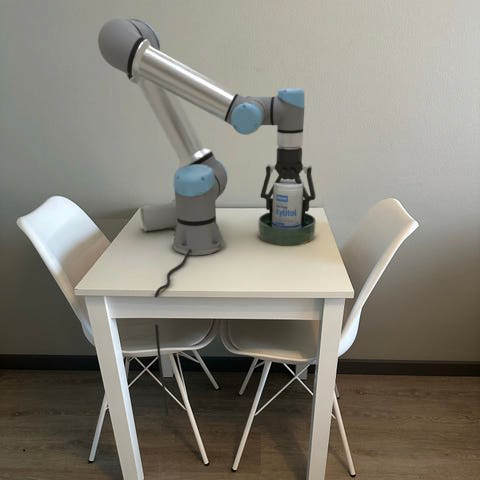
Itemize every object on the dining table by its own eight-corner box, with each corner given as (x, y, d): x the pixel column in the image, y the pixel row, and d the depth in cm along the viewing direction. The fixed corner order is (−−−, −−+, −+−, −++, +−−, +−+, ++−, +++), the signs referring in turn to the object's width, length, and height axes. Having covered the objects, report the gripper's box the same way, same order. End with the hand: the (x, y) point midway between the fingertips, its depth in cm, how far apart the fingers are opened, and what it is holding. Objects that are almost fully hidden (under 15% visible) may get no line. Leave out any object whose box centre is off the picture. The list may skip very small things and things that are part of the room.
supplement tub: (274, 234, 146) (275, 186, 138) (269, 223, 154) (270, 178, 147) (304, 232, 147) (307, 185, 139) (298, 222, 155) (301, 177, 147)
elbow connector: (189, 232, 152) (202, 213, 169) (180, 201, 147) (194, 184, 164) (140, 241, 156) (157, 221, 173) (129, 211, 151) (148, 194, 168)
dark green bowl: (322, 243, 145) (323, 226, 143) (265, 248, 143) (265, 231, 140) (304, 224, 161) (305, 208, 158) (253, 228, 158) (253, 212, 155)
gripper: (328, 145, 139) (322, 218, 150) (254, 143, 143) (254, 215, 154) (327, 150, 132) (321, 226, 144) (250, 148, 136) (250, 222, 148)
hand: (287, 220), depth 149 cm, fingers closed on supplement tub, 10 cm apart
